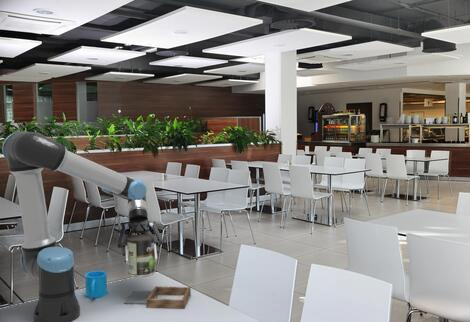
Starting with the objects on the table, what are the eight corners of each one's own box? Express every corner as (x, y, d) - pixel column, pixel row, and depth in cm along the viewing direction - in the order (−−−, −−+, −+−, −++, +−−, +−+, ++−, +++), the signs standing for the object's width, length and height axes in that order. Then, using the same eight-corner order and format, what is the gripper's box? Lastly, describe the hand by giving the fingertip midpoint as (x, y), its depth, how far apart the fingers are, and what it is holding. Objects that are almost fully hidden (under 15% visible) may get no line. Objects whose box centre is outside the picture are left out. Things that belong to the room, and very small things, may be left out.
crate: (146, 307, 168) (146, 299, 168) (155, 293, 182) (155, 286, 182) (184, 308, 167) (184, 300, 167) (190, 294, 181) (190, 287, 181)
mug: (87, 291, 185) (87, 271, 184) (108, 290, 186) (108, 270, 185) (81, 302, 173) (81, 281, 172) (103, 301, 174) (103, 280, 173)
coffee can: (158, 269, 181) (158, 234, 180) (148, 278, 171) (148, 241, 170) (134, 268, 183) (133, 233, 182) (123, 276, 173) (122, 239, 172)
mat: (123, 303, 172) (123, 302, 172) (133, 292, 184) (132, 290, 183) (147, 304, 171) (147, 303, 171) (155, 292, 183) (155, 291, 183)
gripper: (164, 216, 193) (170, 263, 180) (109, 219, 187) (110, 268, 173) (166, 206, 188) (172, 253, 174) (109, 209, 182) (110, 259, 168)
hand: (141, 261), depth 174 cm, fingers closed on coffee can, 10 cm apart
